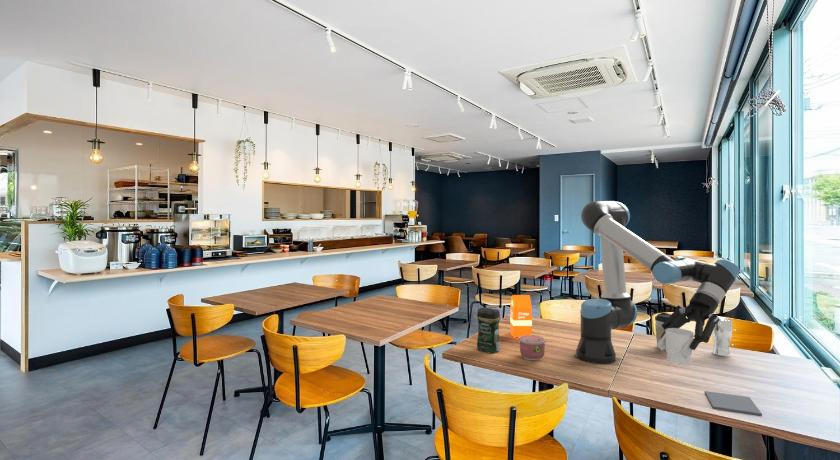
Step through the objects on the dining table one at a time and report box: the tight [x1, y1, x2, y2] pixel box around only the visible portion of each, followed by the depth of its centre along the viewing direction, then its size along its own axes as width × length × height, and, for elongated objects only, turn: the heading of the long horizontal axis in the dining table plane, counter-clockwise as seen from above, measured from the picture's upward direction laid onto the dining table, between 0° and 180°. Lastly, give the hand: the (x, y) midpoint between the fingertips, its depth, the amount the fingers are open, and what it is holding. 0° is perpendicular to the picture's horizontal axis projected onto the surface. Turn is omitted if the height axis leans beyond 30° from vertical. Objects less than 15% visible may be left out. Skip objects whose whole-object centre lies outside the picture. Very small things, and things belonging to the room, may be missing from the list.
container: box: [518, 334, 546, 361], centre depth 175 cm, size 10×10×8 cm
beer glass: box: [711, 316, 733, 358], centre depth 176 cm, size 7×7×15 cm
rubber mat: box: [704, 390, 763, 416], centre depth 132 cm, size 12×12×1 cm
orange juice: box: [509, 294, 533, 339], centre depth 205 cm, size 8×9×20 cm
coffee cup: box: [654, 312, 671, 352], centre depth 184 cm, size 9×9×15 cm
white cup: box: [665, 327, 695, 365], centre depth 139 cm, size 8×8×10 cm
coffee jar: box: [476, 306, 501, 354], centre depth 184 cm, size 10×8×19 cm
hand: (671, 351), depth 138 cm, fingers closed on white cup, 8 cm apart
